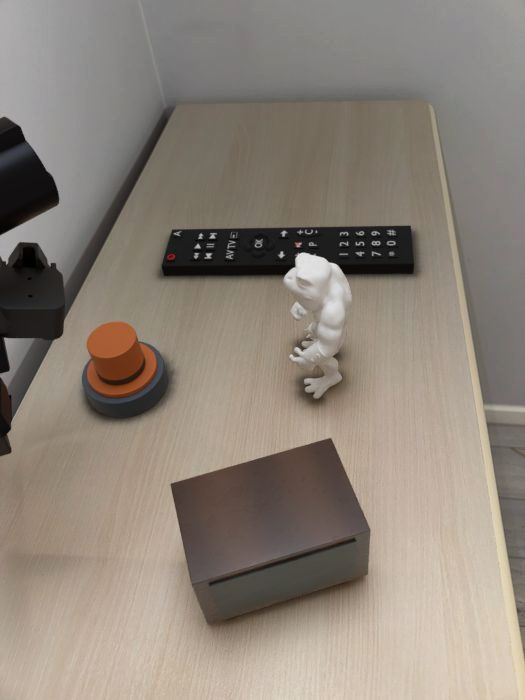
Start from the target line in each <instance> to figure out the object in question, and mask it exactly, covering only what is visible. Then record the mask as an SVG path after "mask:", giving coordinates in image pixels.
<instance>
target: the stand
mask: <svg viewBox="0 0 525 700" xmlns="http://www.w3.org/2000/svg"><path fill="white" fill-rule="evenodd" d="M139 343H141V344H144V345H146V346H147V347H149V348H150V349H151V350H152V351H153V352H154V354H155V356H156V360H157V372H156V374H155V376H154V378H153V380H152V381H151V382H150V383H149V384H148V385H147V386H146V387H145V388H144V389H142V390H141V391H139V392H137V393H135V394H133V395H130V396H126V397H121V398H110V397H105V396H102V395H100V394H98V393H97V392H95V391H94V390H93V389H92V387H91V386H90V384H89V382H88V379H87V369H88V366H89V364H90V362H91V361H92V359H91V358H90V359H89V360H88V361H87V362H86V364H85V366H84V368H83V370H82V373H81V384H82V388H83V390H84V392H85V394H86V396H87V398H88V401H89V404H90V405H91V406H92V408H93V409H95V411H97V412H98V413H100V414H101V415H104V416H106V417H109V418H110V417H111V418H117V419H118V418H129V417H133V416H136V415H140V414H142V413H144V412H146V411H148V410H150V409H151V408H153V407H154V406H155V405H156V404H157V403H158V402H159V401H160V400H161V399H162V398H163V396H164V394H165V393H166V391H167V388H168V384H169V376H168V371H167V367H166V364H165V361H164V358H163V356H162V354H161V353H160V351H159V350H158V349H157V348H156V347H155V346H153V345H152V344H150V343H147V342H144V341H140V340H139Z"/></svg>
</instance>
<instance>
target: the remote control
mask: <svg viewBox="0 0 525 700" xmlns="http://www.w3.org/2000/svg"><path fill="white" fill-rule="evenodd" d="M300 253H307V254H310V255H314V256H318V257H322V258H325V259H326V260H327V261H328V262H329V263H334V264H337V265H338V266H339V268H340V269H341V270H342V272H343V274H344V275H393V274H396V275H397V274H398V275H399V274H400V275H401V274H402V275H403V274H404V275H405V274H406V275H407V274H411V275H412V274H414V268H415V256H414V247H413V235H412V225H359V226H357V225H355V226H353V225H352V226H351V225H349V226H304V227H303V226H302V227H301V226H299V227H298V226H296V227H295V226H294V227H239V228H174V229H173V228H172V229H171V231H170V235H169V239H168V242H167V246H166V249H165V252H164V255H163V259H162V263H161V269H162V270H161V271H162V273H163V276H255V275H256V276H257V275H258V276H260V275H261V276H263V275H265V276H266V275H269V276H270V275H271V276H272V275H274V276H275V275H277V276H278V275H280V276H281V275H282V276H283V275H286V274H287V273H288V272H289V271H290V270H291V269H293V268H295V267H296V265H295V259H296V257H297V256H298V255H299V254H300Z"/></svg>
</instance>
